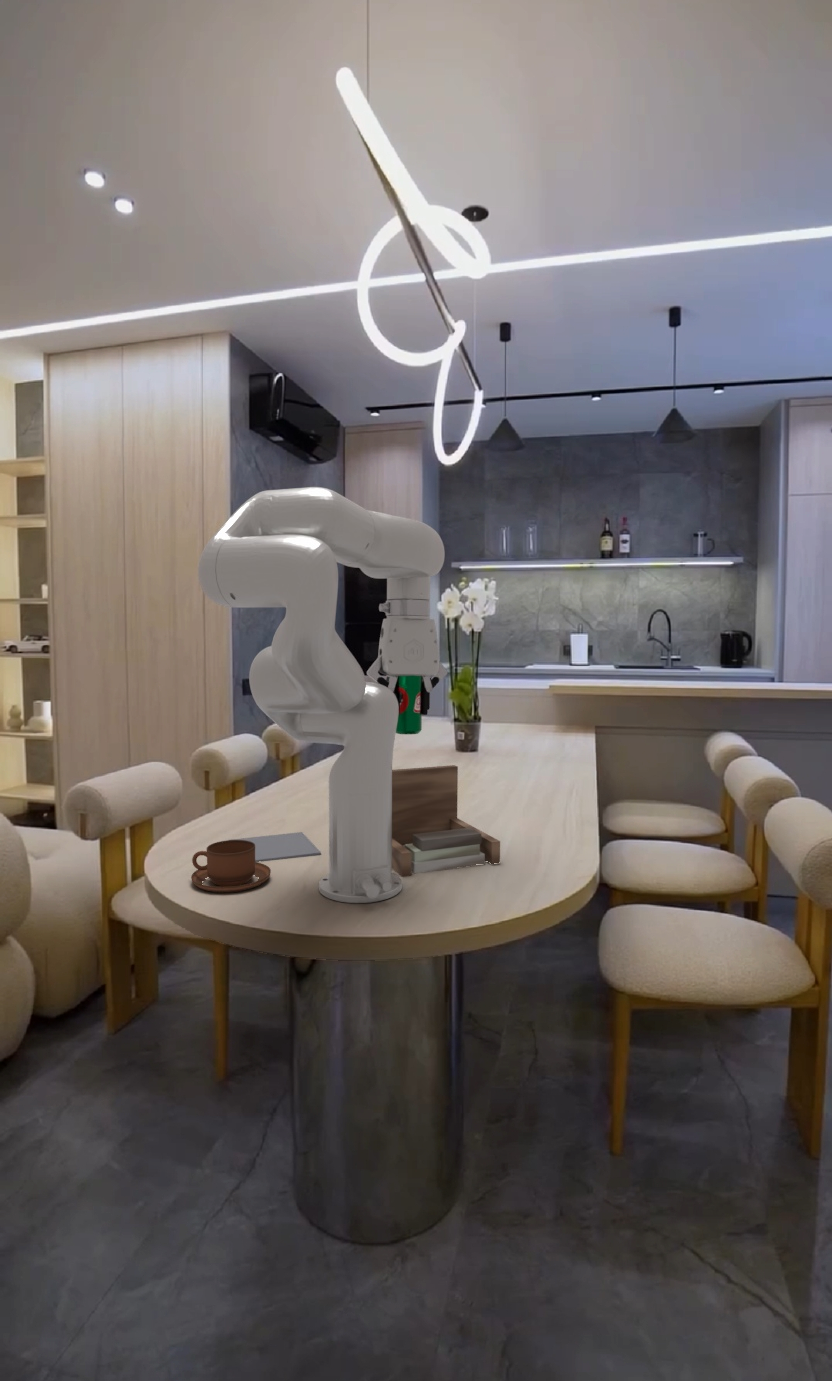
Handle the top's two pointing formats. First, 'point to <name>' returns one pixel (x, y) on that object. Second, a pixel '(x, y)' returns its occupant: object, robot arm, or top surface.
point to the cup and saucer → (229, 866)
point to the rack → (433, 824)
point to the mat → (282, 846)
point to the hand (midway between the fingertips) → (407, 713)
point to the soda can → (409, 704)
